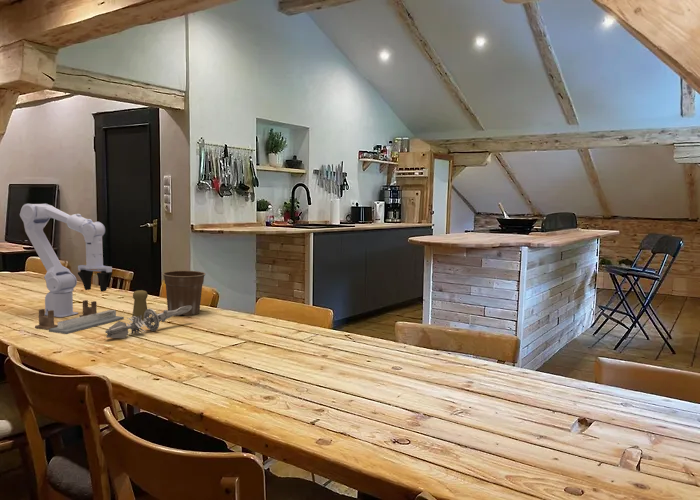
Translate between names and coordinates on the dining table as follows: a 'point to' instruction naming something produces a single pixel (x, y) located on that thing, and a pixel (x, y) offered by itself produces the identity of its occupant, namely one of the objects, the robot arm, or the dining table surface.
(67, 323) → the steel rail
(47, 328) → the cradle rack
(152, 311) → the spaceship
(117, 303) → the dining table surface
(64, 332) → the long grey plate
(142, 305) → the cork
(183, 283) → the plant pot
